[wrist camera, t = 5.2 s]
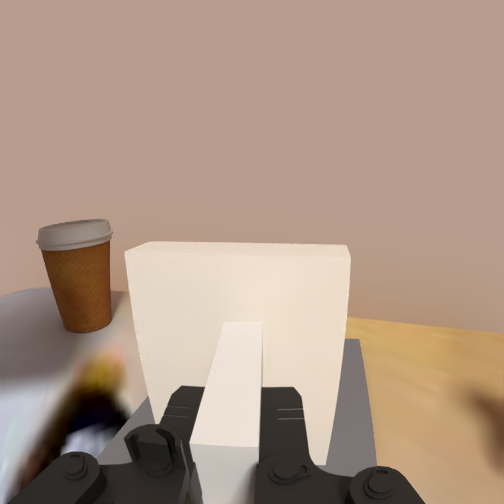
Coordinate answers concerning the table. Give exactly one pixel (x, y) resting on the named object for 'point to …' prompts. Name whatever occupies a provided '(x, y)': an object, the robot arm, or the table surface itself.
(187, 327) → the tile
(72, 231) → the disposable coffee cup
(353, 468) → the mat
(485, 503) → the table surface
